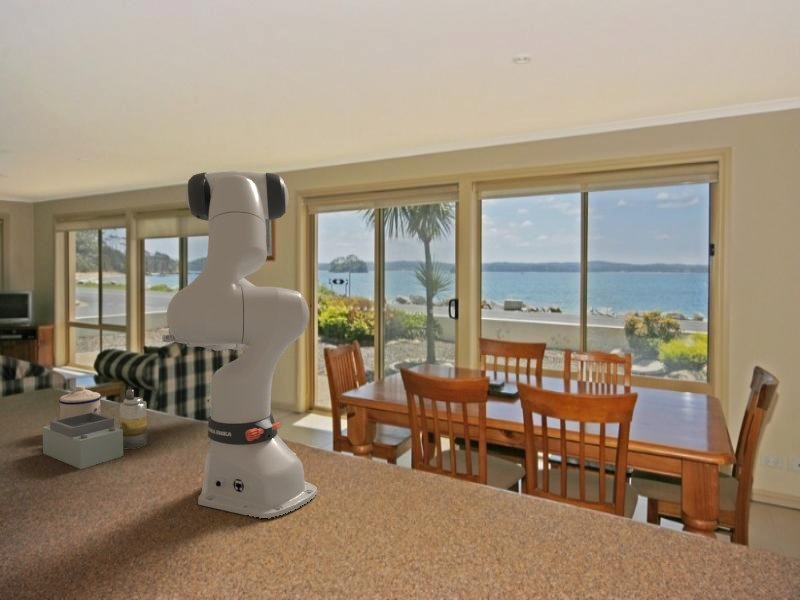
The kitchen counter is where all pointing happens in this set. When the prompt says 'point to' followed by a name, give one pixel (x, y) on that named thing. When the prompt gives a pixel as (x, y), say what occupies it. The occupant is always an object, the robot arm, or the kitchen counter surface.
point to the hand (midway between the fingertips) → (175, 341)
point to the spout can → (133, 421)
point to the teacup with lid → (79, 402)
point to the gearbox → (83, 440)
